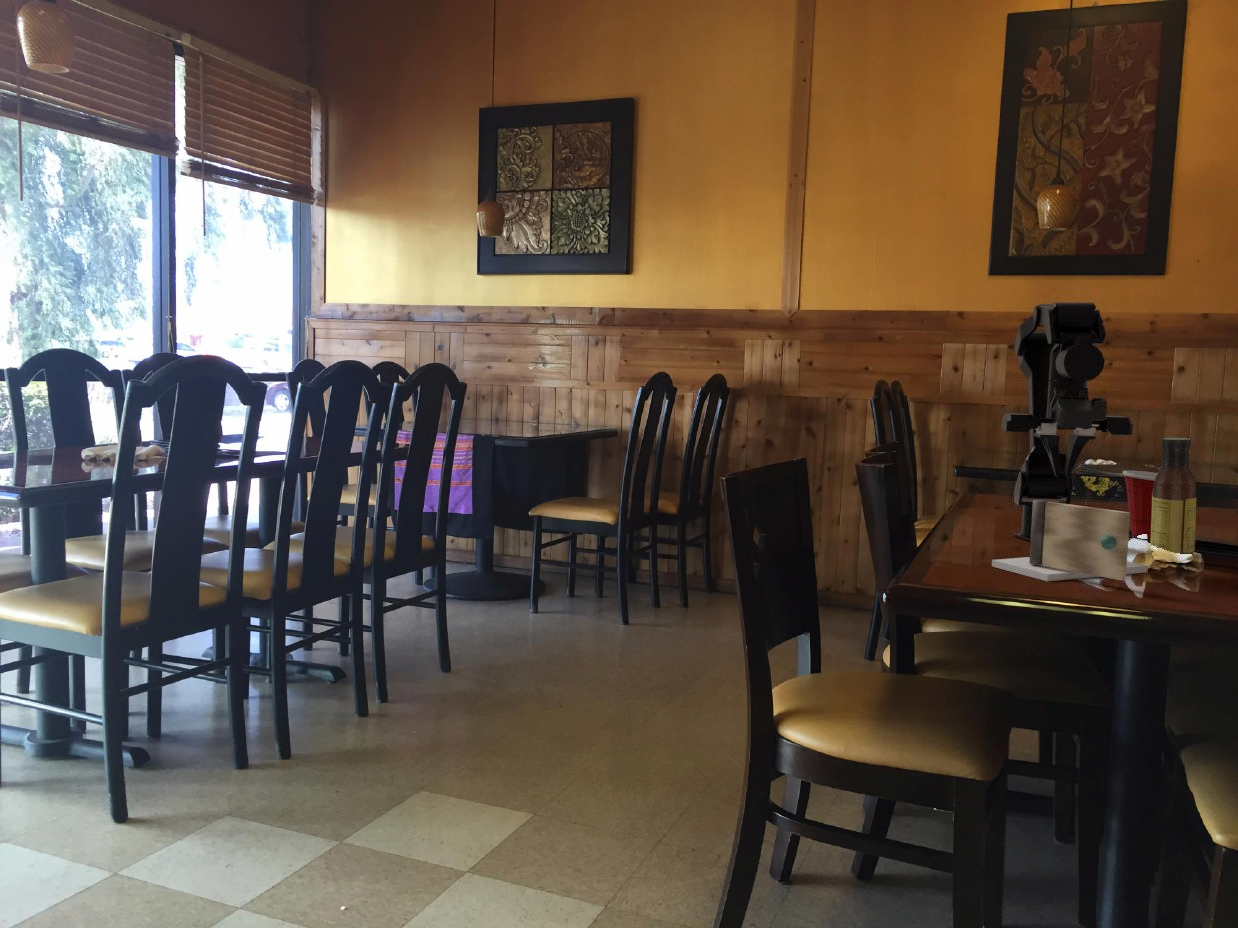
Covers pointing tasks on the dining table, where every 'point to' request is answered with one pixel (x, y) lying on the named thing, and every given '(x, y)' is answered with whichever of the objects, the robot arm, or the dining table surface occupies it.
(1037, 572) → the board
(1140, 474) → the plastic cup
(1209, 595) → the dining table surface
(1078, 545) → the door
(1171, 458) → the sauce bottle
